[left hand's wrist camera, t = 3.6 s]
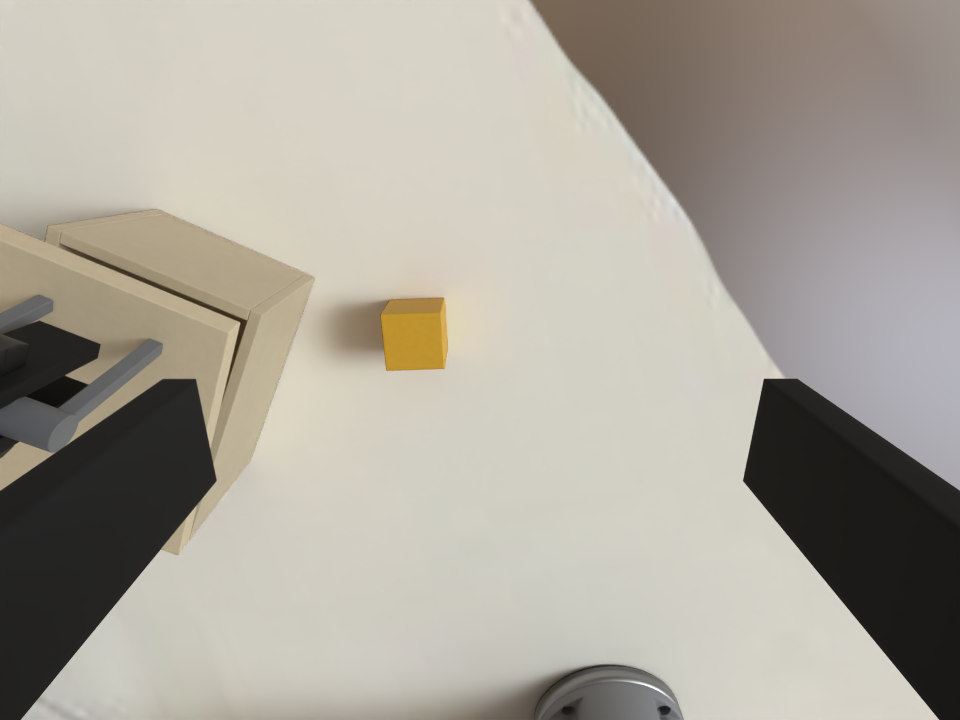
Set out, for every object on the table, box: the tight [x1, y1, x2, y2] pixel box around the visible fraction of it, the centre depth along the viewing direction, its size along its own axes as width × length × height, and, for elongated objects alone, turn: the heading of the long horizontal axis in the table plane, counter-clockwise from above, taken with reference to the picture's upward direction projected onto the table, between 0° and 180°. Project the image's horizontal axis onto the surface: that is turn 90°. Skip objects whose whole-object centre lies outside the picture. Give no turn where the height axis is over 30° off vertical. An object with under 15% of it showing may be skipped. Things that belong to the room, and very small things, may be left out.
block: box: [380, 298, 448, 371], centre depth 39 cm, size 4×4×4 cm
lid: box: [0, 224, 240, 555], centre depth 26 cm, size 18×12×9 cm, turn 155°
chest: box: [45, 209, 315, 541], centre depth 37 cm, size 17×12×10 cm
